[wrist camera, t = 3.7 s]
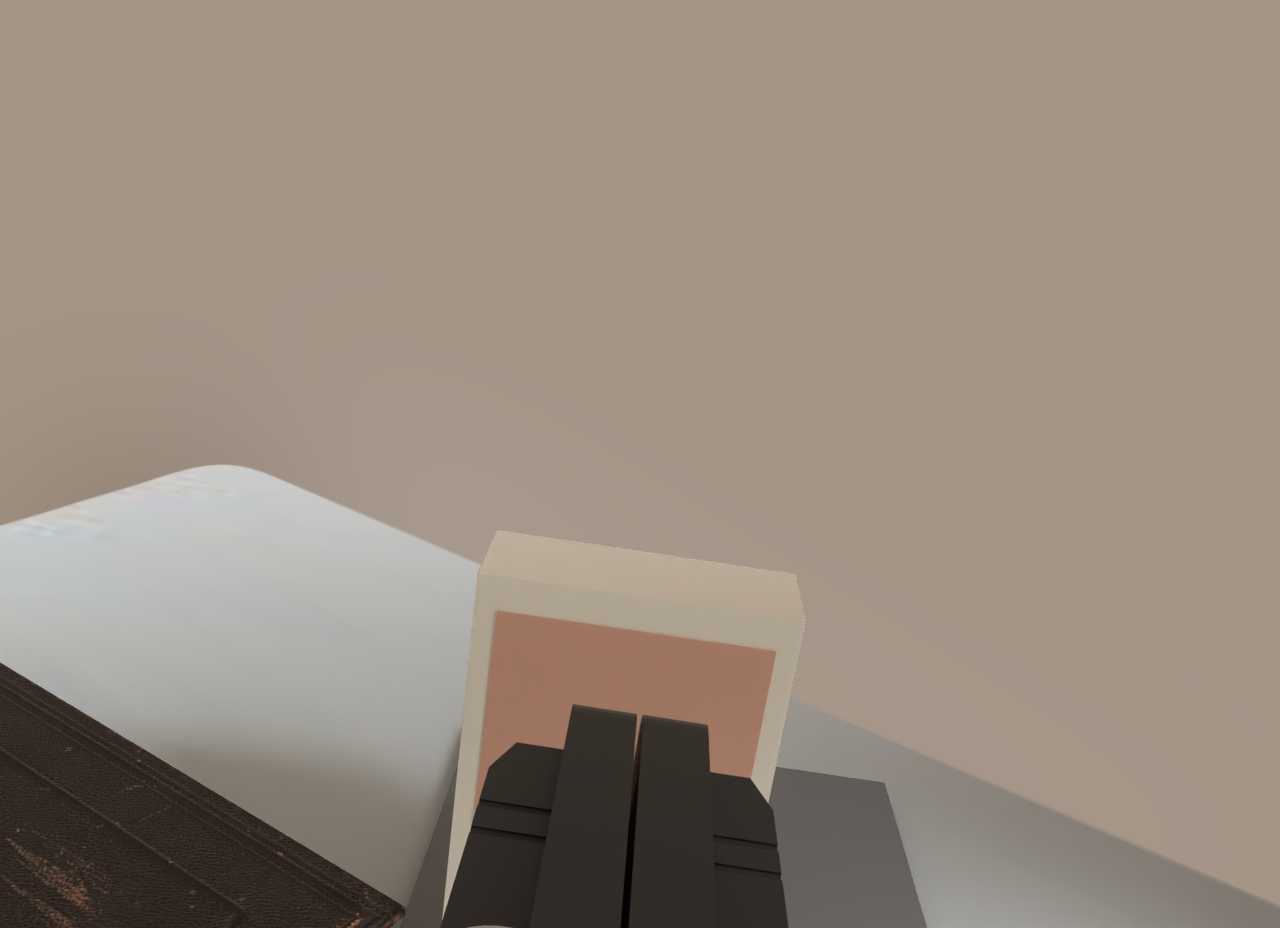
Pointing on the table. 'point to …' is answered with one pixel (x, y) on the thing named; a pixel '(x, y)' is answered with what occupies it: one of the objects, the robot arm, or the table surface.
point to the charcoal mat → (781, 856)
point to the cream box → (623, 655)
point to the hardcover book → (144, 838)
